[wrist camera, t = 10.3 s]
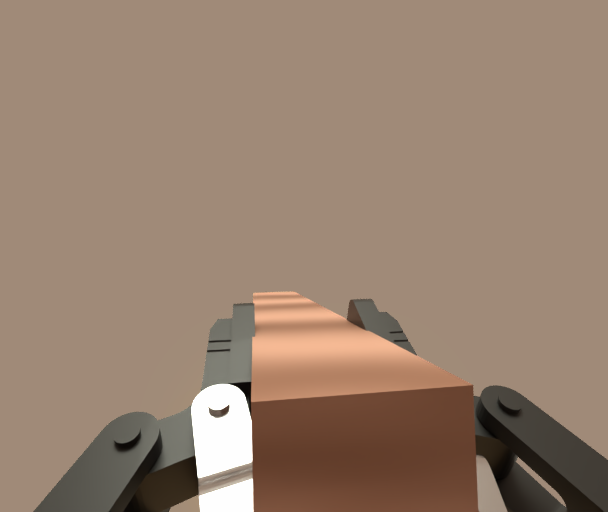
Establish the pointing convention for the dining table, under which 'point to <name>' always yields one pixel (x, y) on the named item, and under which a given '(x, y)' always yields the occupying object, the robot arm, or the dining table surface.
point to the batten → (353, 418)
